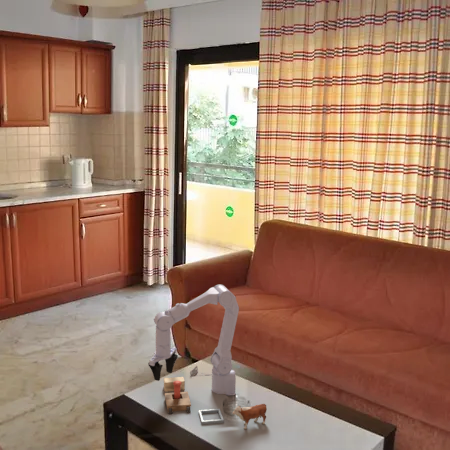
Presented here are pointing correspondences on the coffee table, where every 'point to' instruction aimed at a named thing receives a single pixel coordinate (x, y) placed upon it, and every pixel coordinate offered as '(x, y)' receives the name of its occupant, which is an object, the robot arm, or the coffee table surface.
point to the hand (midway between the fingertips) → (163, 376)
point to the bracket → (196, 372)
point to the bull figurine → (251, 413)
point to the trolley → (178, 402)
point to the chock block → (169, 383)
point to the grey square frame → (211, 420)
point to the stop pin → (177, 389)
